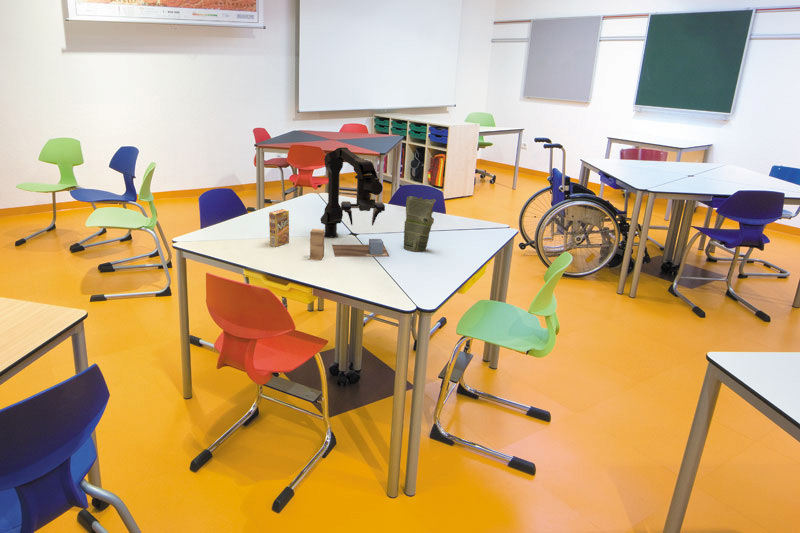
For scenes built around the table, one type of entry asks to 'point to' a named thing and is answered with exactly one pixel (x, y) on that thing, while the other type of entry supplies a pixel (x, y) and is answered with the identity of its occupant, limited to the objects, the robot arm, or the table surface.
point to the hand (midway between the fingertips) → (362, 225)
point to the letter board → (356, 251)
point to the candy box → (279, 227)
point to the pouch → (418, 223)
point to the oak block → (317, 244)
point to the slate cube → (375, 246)
